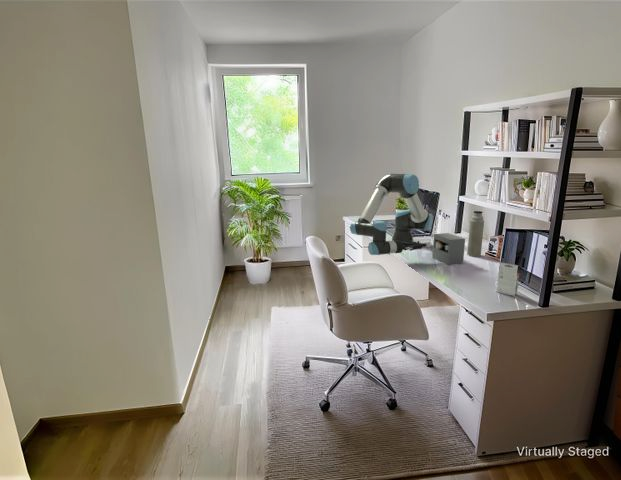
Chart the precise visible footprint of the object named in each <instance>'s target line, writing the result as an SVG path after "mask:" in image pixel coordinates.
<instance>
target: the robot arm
mask: <svg viewBox="0 0 621 480" xmlns="http://www.w3.org/2000/svg"><path fill="white" fill-rule="evenodd" d="M419 189H420V179H419V178H418V176H417V175H415V174H411V173H389V174H386V175H385V176H383V177H382V178H381V179H379V180H378V181H377V182H376V184H375V185H374V188H373V192H372V194H371V196H370V198H369V200H368V202H367V203H366V205H365V207H364V209H363V210H362V212H361V215H360V216H359V217H358V219H357V221H353V222H351V223H350V226H349V232H350V233H351V234H352V235H355V236H356V235H357V236H364V237H371V238H372V241H371V242H369V243H368V246H367V250H368V253H369V254H370V255H371V256H382V255H391V254H392V255H393V254H402V252H403V251H408V250H409V251H411V252H412V251H415V250H416V251H417V250H422V248H429V247H431V241H423V242H420V241H419V240H418V241H414V237H413V233H412V230H419V231H429V230H431V228H432V226H433V222H434V216H433V214H432V213H429V212H428V211H427V209H424V207H423V204H422V202H421V200H420V198H419V194H418V191H419ZM390 193H396V194H398V195H399V196H400V197H401V199H402V198H403V200H404V201H405V204H406V205H407V208H408V209H403V210H397V211H395V217H394V219H395V220H394V233H393V235H392V238H391V240H387V222H386V221H384V220H374V218H375V215H376V214H377V212H378V211H379V208H380V207H381V205H382V203H383V201H384V199H385V198H386V197H387V196H388V195H389V194H390ZM373 220H374V221H373ZM372 222H373V223H372Z"/></svg>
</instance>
